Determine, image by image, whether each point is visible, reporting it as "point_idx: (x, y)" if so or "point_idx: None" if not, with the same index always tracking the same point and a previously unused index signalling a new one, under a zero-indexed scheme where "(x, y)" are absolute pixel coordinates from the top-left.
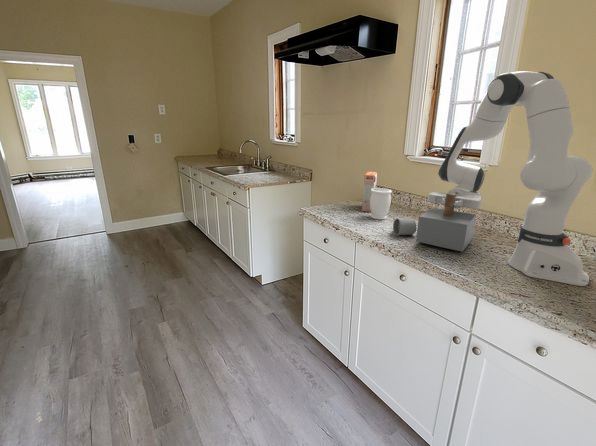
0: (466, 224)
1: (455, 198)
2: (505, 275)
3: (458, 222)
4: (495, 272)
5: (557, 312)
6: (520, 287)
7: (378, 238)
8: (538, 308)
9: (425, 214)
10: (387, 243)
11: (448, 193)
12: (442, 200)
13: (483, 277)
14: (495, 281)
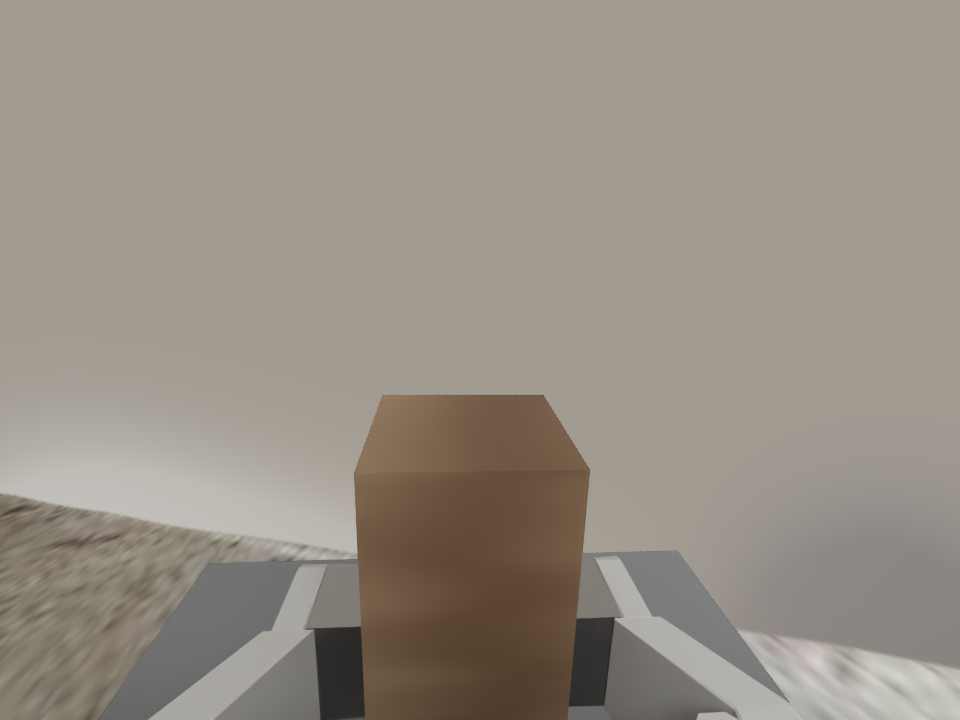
0: (215, 567)
1: (362, 591)
2: (24, 669)
3: (291, 579)
4: (74, 673)
5: (12, 514)
6: (30, 591)
7: (893, 705)
8: (70, 507)
9: (708, 645)
10: (760, 661)
11: (538, 426)
12: (609, 556)
13: (184, 586)
14: (136, 582)
